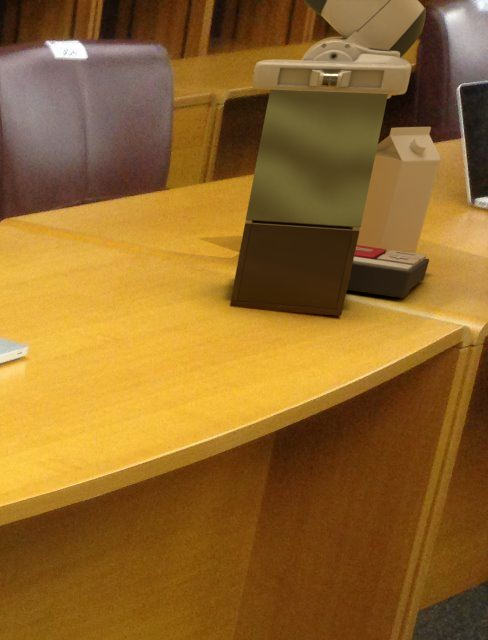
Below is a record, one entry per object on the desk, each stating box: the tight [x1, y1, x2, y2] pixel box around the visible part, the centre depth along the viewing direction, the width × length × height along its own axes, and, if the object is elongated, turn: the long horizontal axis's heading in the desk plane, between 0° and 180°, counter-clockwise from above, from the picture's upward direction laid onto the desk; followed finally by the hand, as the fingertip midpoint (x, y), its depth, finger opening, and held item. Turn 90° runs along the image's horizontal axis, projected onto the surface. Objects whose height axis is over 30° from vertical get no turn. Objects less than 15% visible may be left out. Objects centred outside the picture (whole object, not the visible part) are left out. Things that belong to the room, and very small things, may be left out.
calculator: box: [347, 245, 430, 299], centre depth 214 cm, size 11×4×15 cm
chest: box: [229, 219, 360, 317], centre depth 204 cm, size 14×14×11 cm
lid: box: [245, 89, 388, 228], centre depth 194 cm, size 16×14×1 cm
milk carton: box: [357, 126, 442, 254], centre depth 227 cm, size 7×7×19 cm
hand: (329, 80), depth 211 cm, fingers closed
